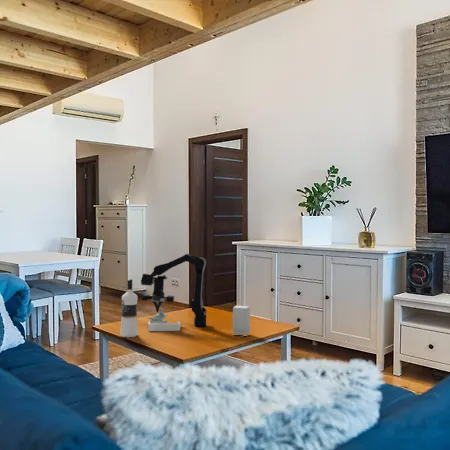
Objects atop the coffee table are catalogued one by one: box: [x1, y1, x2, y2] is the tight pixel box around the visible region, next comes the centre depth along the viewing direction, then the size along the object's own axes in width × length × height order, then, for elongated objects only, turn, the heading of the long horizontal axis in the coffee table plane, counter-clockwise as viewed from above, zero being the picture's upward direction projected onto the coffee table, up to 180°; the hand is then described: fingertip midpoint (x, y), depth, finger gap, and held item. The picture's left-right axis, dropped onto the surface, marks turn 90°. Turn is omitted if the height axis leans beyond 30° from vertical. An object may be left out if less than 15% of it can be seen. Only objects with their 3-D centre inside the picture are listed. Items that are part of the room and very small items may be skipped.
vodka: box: [119, 279, 139, 339], centre depth 248 cm, size 9×9×30 cm
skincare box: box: [232, 305, 251, 335], centre depth 254 cm, size 8×7×16 cm
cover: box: [148, 308, 168, 321], centre depth 271 cm, size 15×8×4 cm, turn 175°
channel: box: [147, 320, 181, 332], centre depth 263 cm, size 18×8×4 cm, turn 98°
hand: (157, 312), depth 277 cm, fingers closed
